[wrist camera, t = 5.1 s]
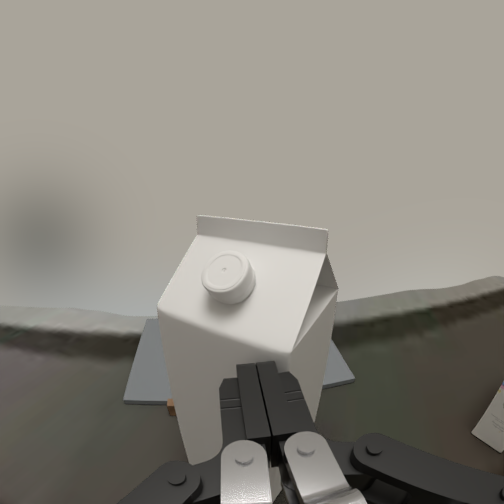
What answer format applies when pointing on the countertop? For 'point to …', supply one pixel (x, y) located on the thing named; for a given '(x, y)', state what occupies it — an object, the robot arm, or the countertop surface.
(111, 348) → the countertop surface
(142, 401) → the mat
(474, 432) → the ink cartridge box
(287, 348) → the milk carton
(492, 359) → the countertop surface
